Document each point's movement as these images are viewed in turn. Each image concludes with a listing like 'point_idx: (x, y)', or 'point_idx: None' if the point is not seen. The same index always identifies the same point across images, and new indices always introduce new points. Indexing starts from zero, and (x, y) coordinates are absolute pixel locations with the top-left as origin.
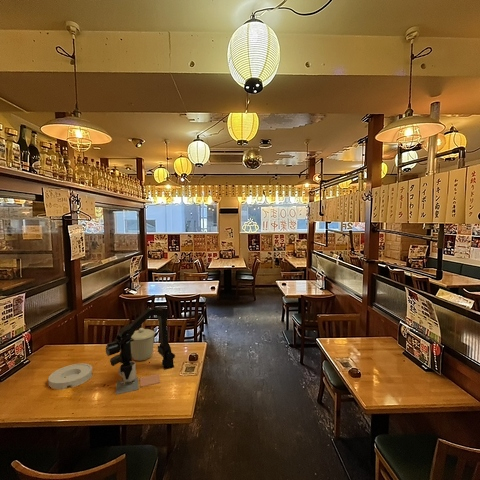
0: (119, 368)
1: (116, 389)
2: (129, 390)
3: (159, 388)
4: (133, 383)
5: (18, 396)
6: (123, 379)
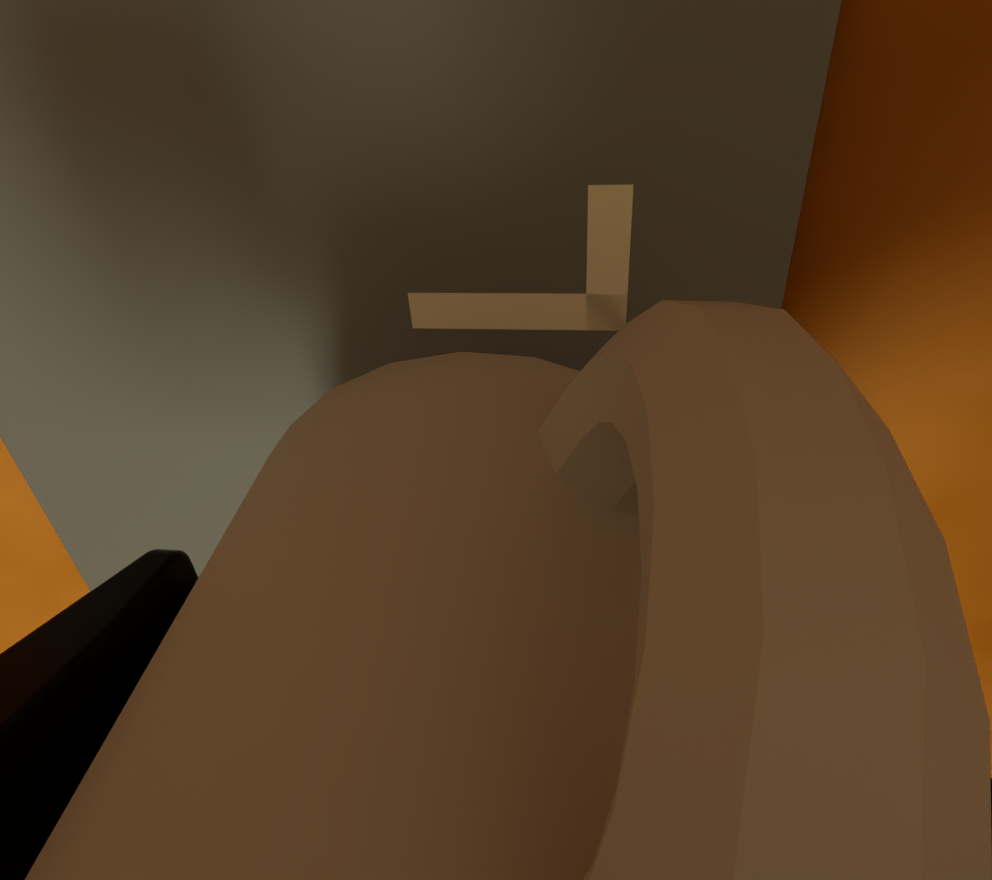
0: (719, 792)
1: (93, 12)
2: (35, 431)
3: None
4: None
5: None
6: (355, 402)
